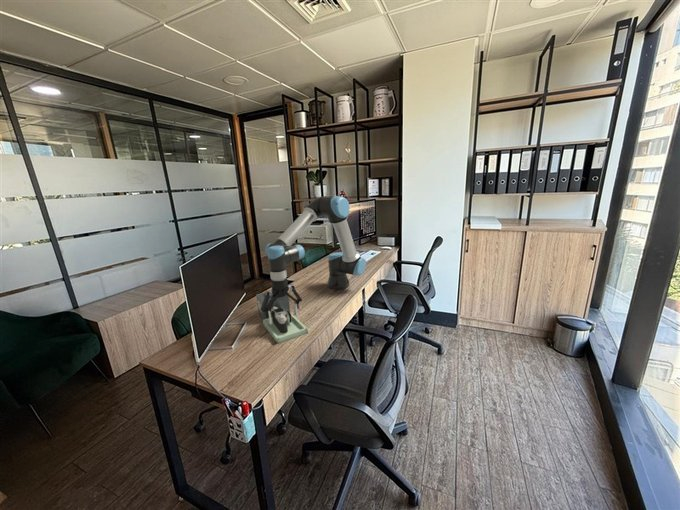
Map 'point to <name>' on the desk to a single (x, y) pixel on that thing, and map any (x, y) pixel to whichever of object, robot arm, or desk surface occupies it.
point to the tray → (293, 330)
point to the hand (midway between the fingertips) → (283, 319)
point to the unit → (278, 303)
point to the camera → (281, 319)
